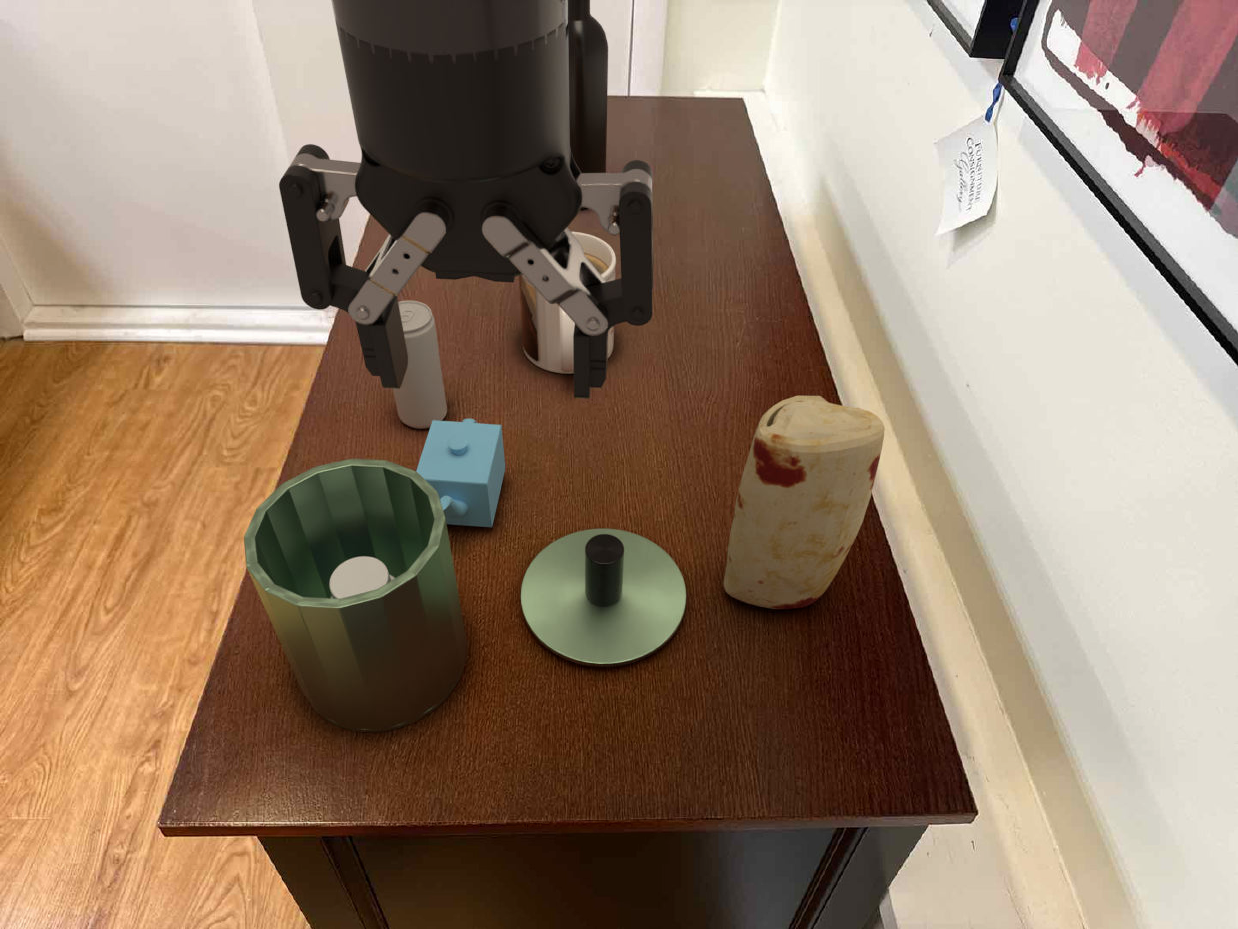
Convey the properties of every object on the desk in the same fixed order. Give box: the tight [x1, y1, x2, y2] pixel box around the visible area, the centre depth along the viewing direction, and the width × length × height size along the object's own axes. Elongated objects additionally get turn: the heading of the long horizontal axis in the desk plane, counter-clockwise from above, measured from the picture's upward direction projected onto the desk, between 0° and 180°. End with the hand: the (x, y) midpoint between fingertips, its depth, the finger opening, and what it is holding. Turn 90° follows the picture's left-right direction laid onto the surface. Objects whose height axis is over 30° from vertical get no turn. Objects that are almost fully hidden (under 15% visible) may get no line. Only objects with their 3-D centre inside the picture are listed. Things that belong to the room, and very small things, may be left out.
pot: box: [243, 458, 468, 733], centre depth 62 cm, size 12×12×16 cm
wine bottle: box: [568, 0, 609, 210], centre depth 107 cm, size 6×6×30 cm
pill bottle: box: [329, 556, 395, 599], centre depth 64 cm, size 6×5×10 cm
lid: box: [520, 528, 687, 668], centre depth 70 cm, size 13×13×7 cm
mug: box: [517, 231, 617, 374], centre depth 91 cm, size 10×12×11 cm
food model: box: [723, 395, 886, 610], centre depth 66 cm, size 10×7×20 cm
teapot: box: [415, 417, 506, 528], centre depth 76 cm, size 12×6×8 cm, turn 176°
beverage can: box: [392, 300, 448, 430], centre depth 83 cm, size 5×5×12 cm
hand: (490, 381), depth 40 cm, fingers open, 8 cm apart
